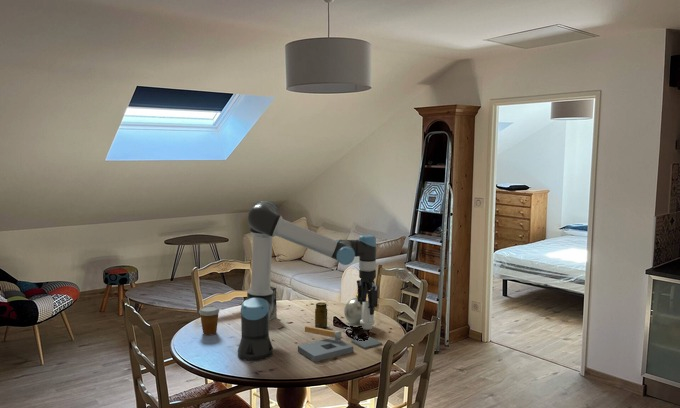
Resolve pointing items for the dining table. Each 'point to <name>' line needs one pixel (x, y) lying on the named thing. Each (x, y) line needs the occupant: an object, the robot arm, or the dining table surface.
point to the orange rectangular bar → (323, 332)
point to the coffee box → (274, 312)
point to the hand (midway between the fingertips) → (367, 319)
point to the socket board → (325, 349)
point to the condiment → (321, 316)
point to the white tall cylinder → (366, 317)
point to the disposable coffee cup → (209, 319)
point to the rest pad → (367, 343)
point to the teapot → (353, 312)
